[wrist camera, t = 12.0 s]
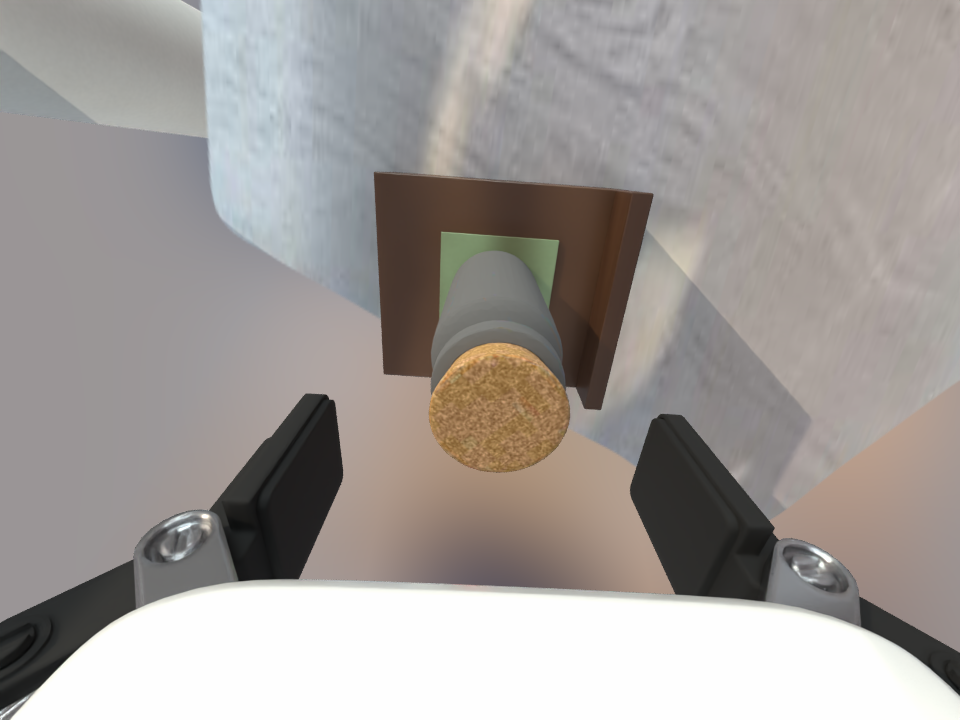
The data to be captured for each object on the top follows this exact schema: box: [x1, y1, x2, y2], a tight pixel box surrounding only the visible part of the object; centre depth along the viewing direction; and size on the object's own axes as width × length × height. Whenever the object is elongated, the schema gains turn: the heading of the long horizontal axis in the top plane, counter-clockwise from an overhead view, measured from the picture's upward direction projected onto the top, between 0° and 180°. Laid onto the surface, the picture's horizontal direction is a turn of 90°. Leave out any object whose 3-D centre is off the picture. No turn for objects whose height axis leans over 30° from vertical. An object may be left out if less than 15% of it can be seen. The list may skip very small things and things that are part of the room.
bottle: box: [429, 251, 570, 473], centre depth 19 cm, size 6×6×15 cm
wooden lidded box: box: [374, 172, 653, 410], centre depth 27 cm, size 16×14×8 cm
